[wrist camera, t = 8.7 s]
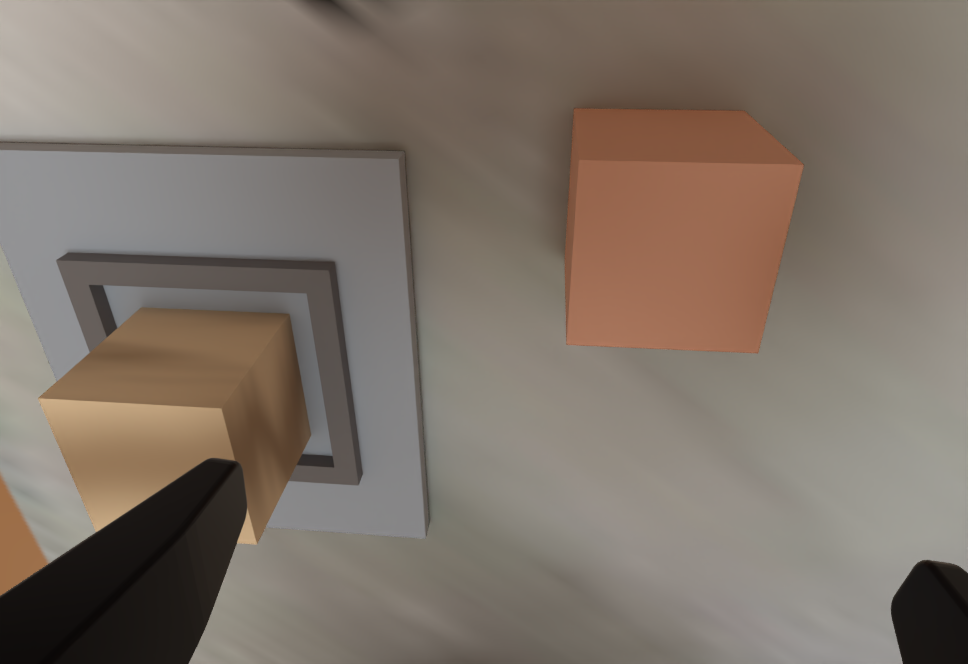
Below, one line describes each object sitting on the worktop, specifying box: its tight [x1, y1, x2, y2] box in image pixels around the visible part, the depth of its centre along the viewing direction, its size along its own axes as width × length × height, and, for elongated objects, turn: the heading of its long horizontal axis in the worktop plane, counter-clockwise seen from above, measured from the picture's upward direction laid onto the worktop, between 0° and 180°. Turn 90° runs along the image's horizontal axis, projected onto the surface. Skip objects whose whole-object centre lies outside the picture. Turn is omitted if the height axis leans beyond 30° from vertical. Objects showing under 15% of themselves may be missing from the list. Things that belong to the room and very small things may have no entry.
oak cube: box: [38, 307, 311, 544], centre depth 20 cm, size 5×5×5 cm
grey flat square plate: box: [0, 142, 429, 539], centre depth 23 cm, size 15×13×1 cm
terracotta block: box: [565, 108, 804, 353], centre depth 17 cm, size 4×4×5 cm
